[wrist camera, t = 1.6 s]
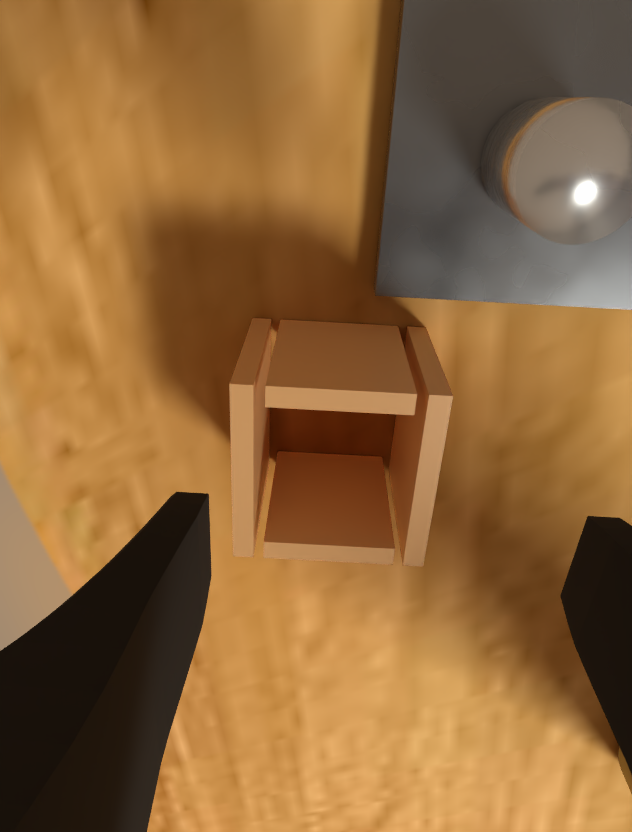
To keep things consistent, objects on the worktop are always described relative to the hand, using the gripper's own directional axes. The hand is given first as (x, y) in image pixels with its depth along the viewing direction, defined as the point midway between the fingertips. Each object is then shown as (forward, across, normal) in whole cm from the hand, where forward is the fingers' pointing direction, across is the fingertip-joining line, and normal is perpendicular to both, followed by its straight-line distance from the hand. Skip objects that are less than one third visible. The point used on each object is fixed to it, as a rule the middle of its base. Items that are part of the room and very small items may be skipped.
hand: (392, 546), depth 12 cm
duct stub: (+10, -4, -6) cm, 12 cm away
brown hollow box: (+10, +1, +2) cm, 10 cm away
